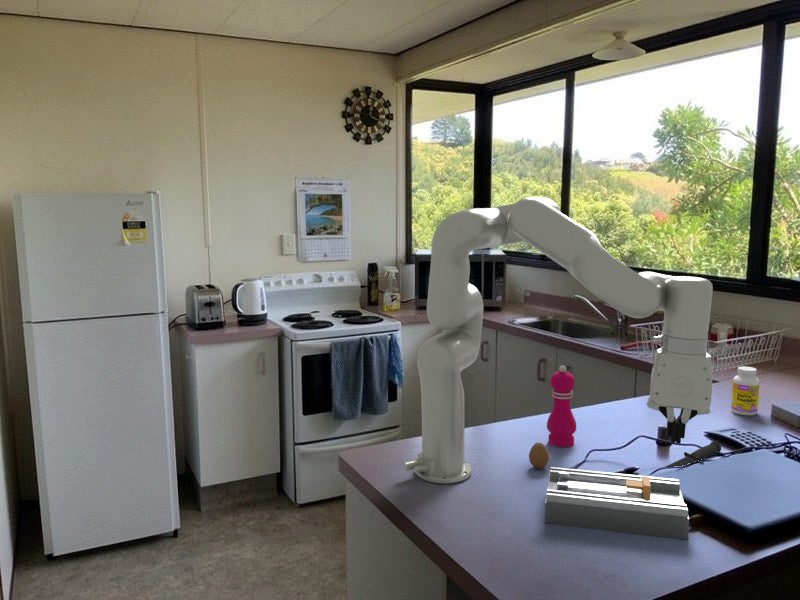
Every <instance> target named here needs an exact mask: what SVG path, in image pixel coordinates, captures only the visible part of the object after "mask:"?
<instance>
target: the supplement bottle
mask: <svg viewBox="0 0 800 600" xmlns="http://www.w3.org/2000/svg"><path fill="white" fill-rule="evenodd" d="M757 372H758V371H757V368H755V367H752V366H745V365H744V366H738V367H737V375H735V376H734V377H733V379H732V389H731V401H730V402H731V403H730V405H731V406H730V410H731V412H732V413H734V414H737V415H741V416H749V417H750V416H755V415H757V413H758V409H759V396H760V385H761V384H760V383H761V381H760V379H759V378H758V377H756V375H757Z"/></svg>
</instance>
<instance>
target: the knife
mask: <svg viewBox="0 0 800 600" xmlns="http://www.w3.org/2000/svg"><path fill="white" fill-rule="evenodd" d="M721 451H722V445H721V443H719V442H718V441H716V440H714V441H711V442H710V443H709V444H707V445H704V446H702V447H700V448H698V449H696V450H694V451H693V452H690V453H689V452H686V451H685V452H683V455H684V457H682V458H680V459H678V460H676V461H674V462H672V463H670V464H667V465H666V466H664V467H669V468H670V467H674V466H682V465H683V466H684V465H687V464H688V463H693V462H695V461H698V460H699V461H704V458H705V459H707V458H709V457H711V456H713V455H715V454H716V453H720V452H721ZM701 459H703V460H701ZM695 463H696V462H695ZM693 464H694V463H693Z"/></svg>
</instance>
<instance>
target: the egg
mask: <svg viewBox="0 0 800 600" xmlns="http://www.w3.org/2000/svg"><path fill="white" fill-rule="evenodd" d="M549 455H550V454H549V451H548V449H547V447H546V446H545V444H543V443H542V442H536V443H534V444H533V445H532V446H531V448H530V450H529V453H528V460H529V463H530V464H531V465H532V467H534V468H535V469H537V470H538V469H539V470H542V469H544V468H545V467H546V466H547V465H548V464H549V460H550V456H549Z"/></svg>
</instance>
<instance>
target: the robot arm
mask: <svg viewBox="0 0 800 600" xmlns="http://www.w3.org/2000/svg"><path fill="white" fill-rule="evenodd" d="M522 242H525V243H526V244H528V245H529V246H531V247H533V248H534V249H535V250H536V251H538V252H540V253H541V254H543V255H545V257H547V258H548V259H551V260H552V261H553V262H555V263H556V264H557V265H559V266H561V267H562V268H564V269H565V270H567V272H568V273H569V274H570V275H571V276H572V277H573V278H574V279H575V280H576V281H578V282H579V283H580V284H581V286H583V287H584V288H585V289H586V290H588V291H589V292H591V293H592V294H593V296H595V297H597V298H599V299H600V300H601V301H603V302H604V303H606V305H609V306H610V307H611V308H613V309H615V310H617V311H618V312H620V313H621V314H623V315H625V316H627V317H630V318H634V319H643V318H644V319H645V318H647V317H650V316H652V315H654V313H656V312H658V311H663V312H664V315H663V325H662V326H663V327H662V332H661V335H658V336H653V339H652V340H653V344H655V345H659V346H660V348H658V349H656V353H655V355H654V360H653V363H652V364H653V365H652V369H651V375H650V381H649V392H648V393H649V396H648V398H647V400H646V401H647V402H646V406H647V408H649V409H652V410H654V411H658V412H660V413H661V414H662V415H663V417H665V418H666V420H667V421H666V430H665V431H666V432H665V436H666V437H669V442H670V444H675V443H676V444H677V445H680V444H681V440H682V439H685V436H686V428H687V427H686V426H687V424H688V423H689V421H690V420H692V419H693V418H695V417H696V416H701V415H702V416H703V415H709V414H710V413H711V410H710V409H711V404H712V393H713V363H712V362H713V361H712V356H711V355H710V354H709V353H708V352H707V349H708V338H709V337H708V336H709V328H710V320H711V319H710V318H711V310H712V301H713V292H714V291H713V289H714V288H713V283H712V282H711V281H710V279H706V278H703V277H698V276H689V275H688V276H687V275H686V276H685V275H682V276H681V275H680V276H674V275H673V276H672V275H668V274H667V275H666V274H662V273H658V272H654V271H640V272H636V271H635V270H633V269H631V268H630V267H629V266H628V265H625V264H624V263H622V262H621V261H619V260H618V259H617V258H615V257H614V256H613V255H611V254H610V253H609V252H608V251H607V250H606V249H605V248H604V247H603V245H602V244H601V242H600V240H599V238H598V237H597V235H595V233H594V232H593V231H592V230H590V229H588V228H586V226H585V227H584V226H583V225H582V224H580V223H578V222H576V220H573V219H572V218H570V217H568V215H566V214H564V213H562V212H561V209H560V208H559V205H557V203H556V202H555V201H553V200H552V199H551V198H548V197H545V196H527V197H522V198H521V199H519V200H517V201H515V203H514V202H513V203H510V204H505V205H500V206H494V207H483V208H481V207H476V208H475V207H472V208H466V209H462V210H459V211H457V212H454V213H452V214H450V215H448V216H447V217H445V218H444V219H443V220H442V221H441V222H440V223H439V224H438V226H437V227H436V229H435V231H434V233H433V236H432V241H431V249H430V251H431V253H430V269H429V278H428V290H427V302H426V316H427V319H428V321H429V323H430V325H431V326H432V327H434V328H435V329H437V330H441V331H442V332H441V333H438V334H436V335H434V336H432V337H430V338H428V339H427V340H426V341H424V342H423V343H422V345H421V346H420V348H419V349H418V353H417V358H416V362H417V363H416V365H417V371H418V376H419V382H420V395H421V396H420V397H421V398H420V400H421V405H420V406H421V448H422V450H421V452H418V453H417V457H416V458H415V459H414V460H409V461H405V462H403V463H402V469H403V471H404V472H409V471H412V470H413V472H414V474H416V476H417V477H418V478H420V479H422V480H424V481H426V482H429V483H434V484H455V483H460V482H462V481H465V480H467V479H468V478H469V477H471V475H472V466H471V464H470V463H469V462H468V461H466V460H465V459H466V458H465V457H466V456H465V391H464V390H465V389H464V386H463V382H462V376H461V372H462V371H463V370H465V369H466V368H469V367H470V366H471V365H472V364H473V363H475V361H476V360H477V358H478V357H479V353H480V346H481V340H482V330H483V328H482V327H483V319H484V318H483V316H484V301H483V296H482V294H481V292H480V291H479V289H478V288H477V287H476V286H475V285H473V284H471V283H470V281H469V280H470V275H471V274H470V273H471V265H470V263H471V262H470V258H469V255H470V252H472V251H475V250H483V249H489V248H495V247H499V246H504V245H511V244H517V243H522ZM674 409H680V411H679V415H678V416H677V418H676V416H675V410H674Z"/></svg>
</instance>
